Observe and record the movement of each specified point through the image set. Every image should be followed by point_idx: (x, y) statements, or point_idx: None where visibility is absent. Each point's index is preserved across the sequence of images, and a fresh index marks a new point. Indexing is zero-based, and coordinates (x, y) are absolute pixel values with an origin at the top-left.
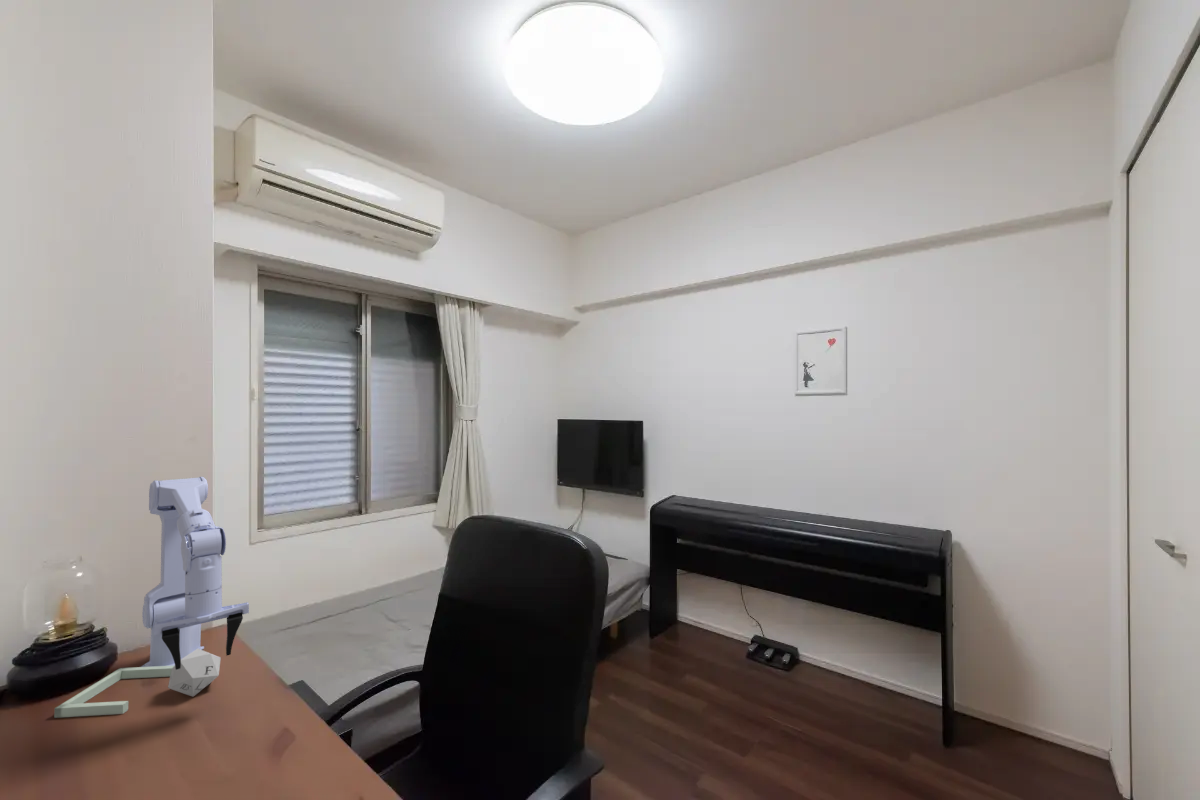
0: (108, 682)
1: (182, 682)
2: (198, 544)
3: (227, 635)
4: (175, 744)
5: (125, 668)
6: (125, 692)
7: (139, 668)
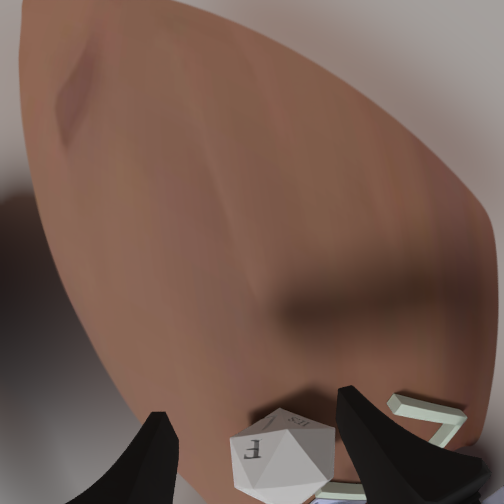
0: None
1: (308, 428)
2: None
3: (152, 493)
4: (287, 202)
5: None
6: None
7: None
